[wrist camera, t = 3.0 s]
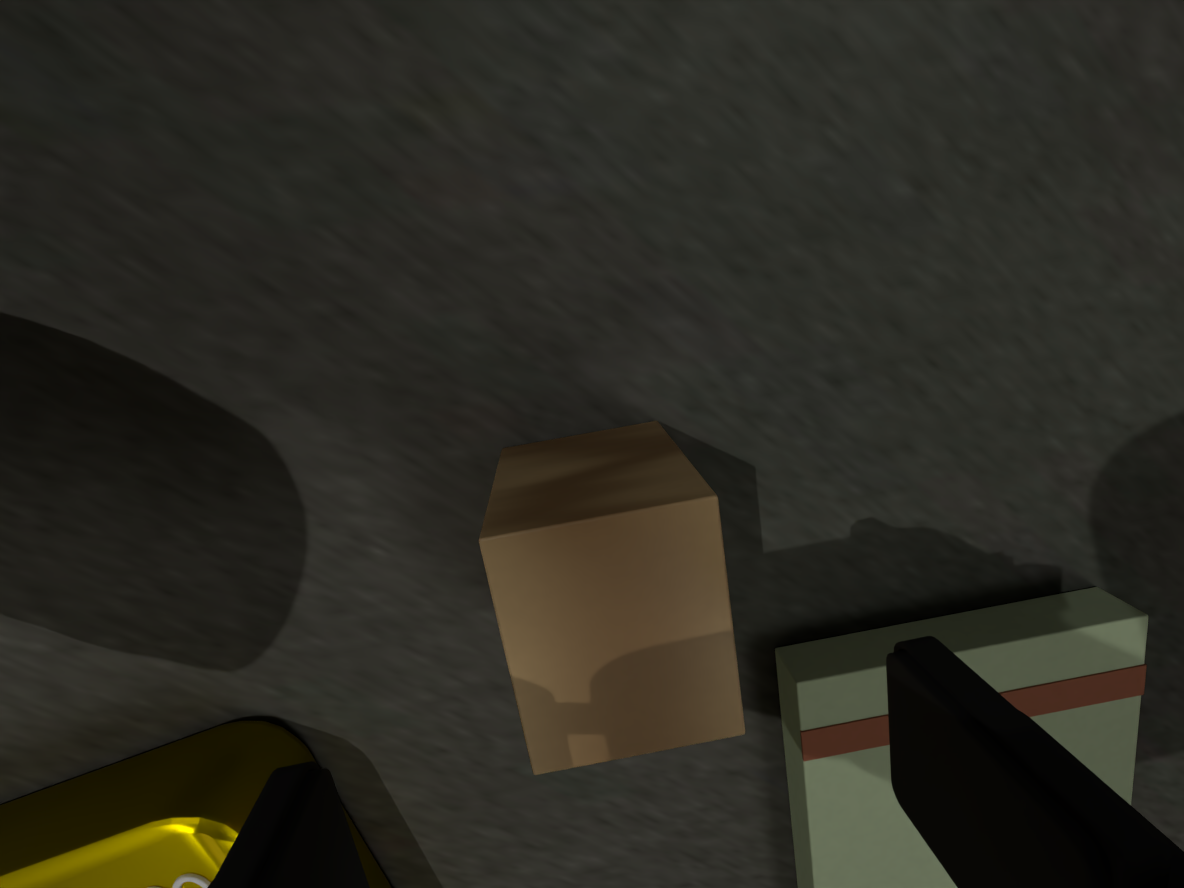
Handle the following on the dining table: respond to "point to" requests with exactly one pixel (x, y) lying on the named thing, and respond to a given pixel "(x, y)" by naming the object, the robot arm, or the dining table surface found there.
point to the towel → (1000, 657)
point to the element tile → (152, 815)
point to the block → (611, 597)
